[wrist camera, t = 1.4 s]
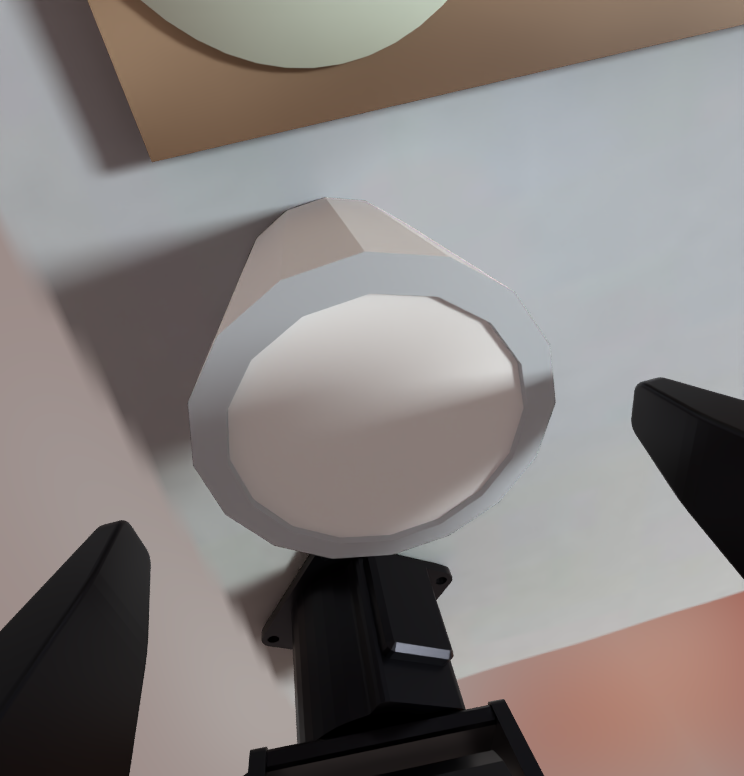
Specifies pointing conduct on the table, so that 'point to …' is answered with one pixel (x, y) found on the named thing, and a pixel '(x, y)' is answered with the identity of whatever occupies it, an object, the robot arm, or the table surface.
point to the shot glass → (366, 387)
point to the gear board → (353, 55)
